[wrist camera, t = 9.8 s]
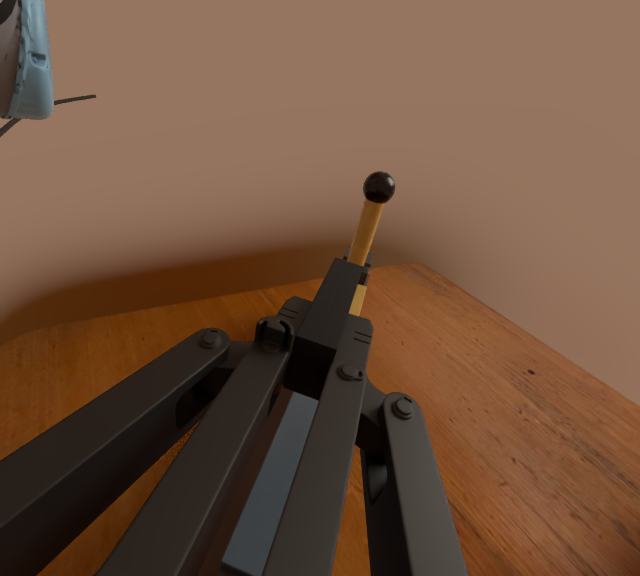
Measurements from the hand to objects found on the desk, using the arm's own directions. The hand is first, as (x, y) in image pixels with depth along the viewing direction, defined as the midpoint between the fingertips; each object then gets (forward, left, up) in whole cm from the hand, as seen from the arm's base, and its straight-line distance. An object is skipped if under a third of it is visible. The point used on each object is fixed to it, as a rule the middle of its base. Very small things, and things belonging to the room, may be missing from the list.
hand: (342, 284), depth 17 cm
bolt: (-8, +8, -6) cm, 12 cm away
